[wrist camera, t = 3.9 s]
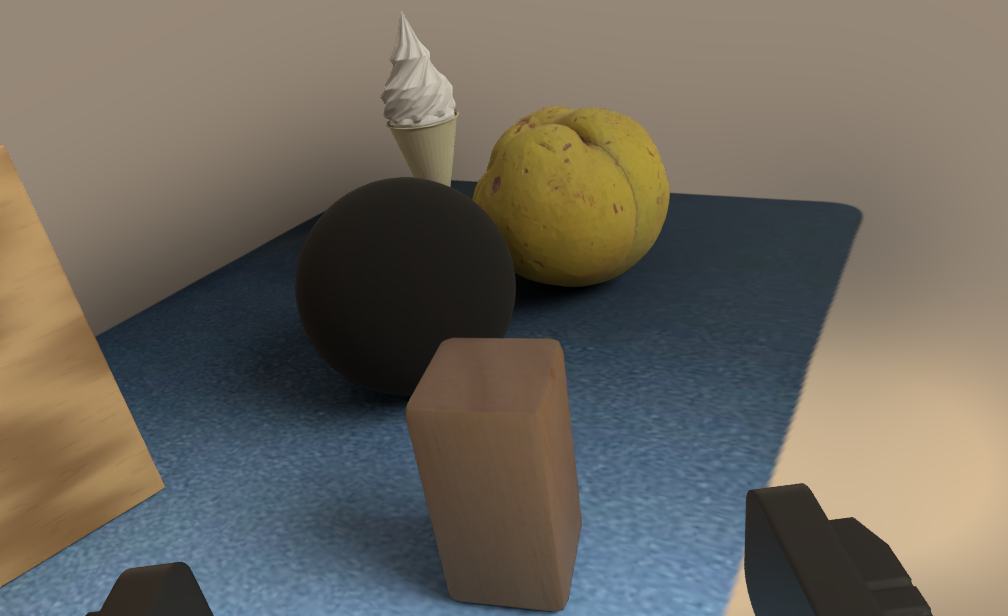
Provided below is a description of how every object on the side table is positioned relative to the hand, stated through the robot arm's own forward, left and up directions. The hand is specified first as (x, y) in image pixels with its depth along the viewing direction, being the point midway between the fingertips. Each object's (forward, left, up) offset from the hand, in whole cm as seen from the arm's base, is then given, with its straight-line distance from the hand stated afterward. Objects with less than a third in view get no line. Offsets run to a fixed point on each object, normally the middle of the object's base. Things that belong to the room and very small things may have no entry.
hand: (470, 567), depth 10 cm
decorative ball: (+13, +19, -11) cm, 26 cm away
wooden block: (+7, +7, -11) cm, 15 cm away
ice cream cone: (+27, +33, -11) cm, 44 cm away
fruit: (+25, +19, -11) cm, 33 cm away
